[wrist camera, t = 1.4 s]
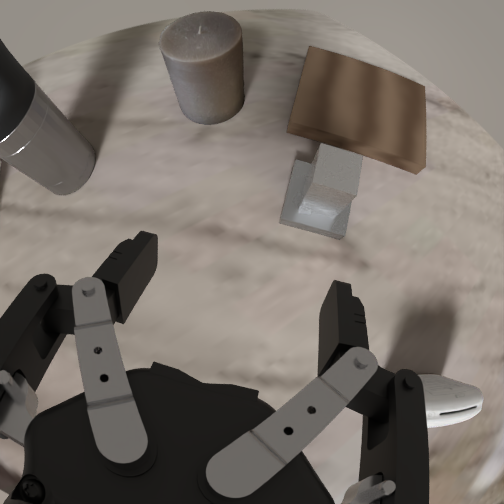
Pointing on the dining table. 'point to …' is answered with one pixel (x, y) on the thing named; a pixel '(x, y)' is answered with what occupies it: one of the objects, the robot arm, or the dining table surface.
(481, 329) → the dining table surface
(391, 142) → the walnut plinth
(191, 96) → the pillar candle
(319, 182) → the block
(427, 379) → the photo printer
